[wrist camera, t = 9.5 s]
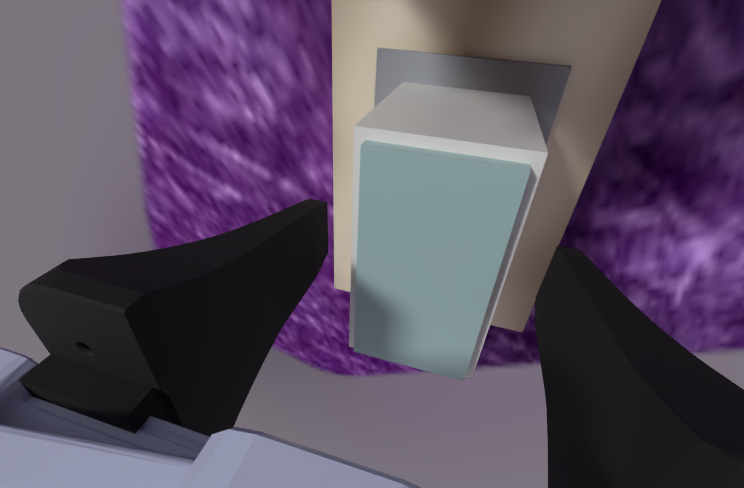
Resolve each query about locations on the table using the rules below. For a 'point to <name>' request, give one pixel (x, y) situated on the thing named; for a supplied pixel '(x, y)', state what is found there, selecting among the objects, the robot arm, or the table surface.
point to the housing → (437, 220)
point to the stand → (492, 74)
